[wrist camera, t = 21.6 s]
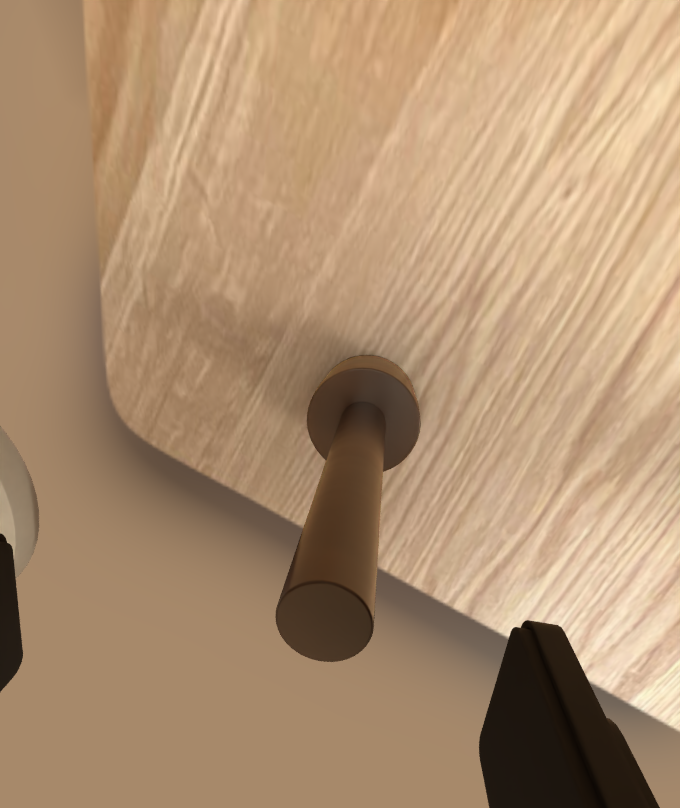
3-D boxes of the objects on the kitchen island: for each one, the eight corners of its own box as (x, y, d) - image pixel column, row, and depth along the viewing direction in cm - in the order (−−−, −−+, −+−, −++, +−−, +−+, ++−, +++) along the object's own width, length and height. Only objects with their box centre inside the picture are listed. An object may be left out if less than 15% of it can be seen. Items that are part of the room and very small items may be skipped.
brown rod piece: (312, 439, 25) (199, 692, 10) (323, 345, 23) (207, 492, 9) (408, 455, 24) (425, 738, 10) (425, 360, 23) (475, 539, 8)
